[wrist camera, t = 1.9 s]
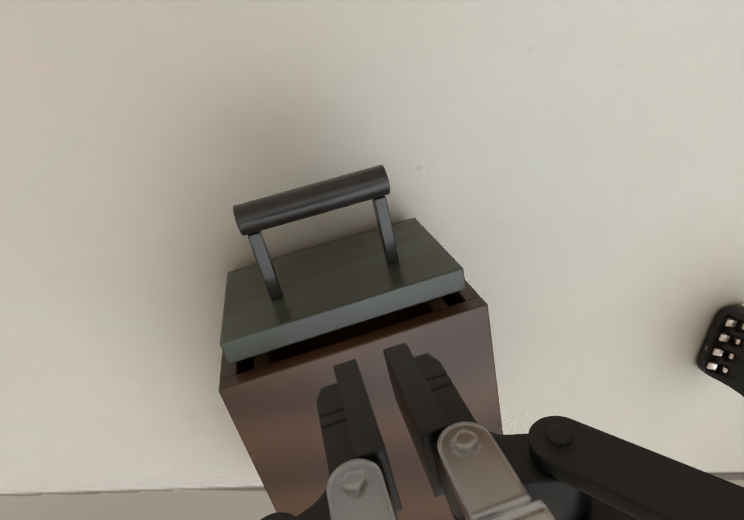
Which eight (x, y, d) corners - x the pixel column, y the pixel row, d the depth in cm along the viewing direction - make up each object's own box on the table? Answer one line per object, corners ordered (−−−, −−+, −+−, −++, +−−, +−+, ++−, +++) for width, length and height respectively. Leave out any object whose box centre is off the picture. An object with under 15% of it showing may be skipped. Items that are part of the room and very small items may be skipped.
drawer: (194, 192, 24) (173, 243, 18) (399, 136, 26) (449, 165, 19) (294, 437, 33) (304, 533, 26) (445, 385, 34) (491, 465, 28)
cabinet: (227, 292, 28) (218, 391, 20) (423, 234, 30) (487, 303, 22) (295, 457, 35) (309, 581, 27) (453, 402, 36) (511, 504, 28)
